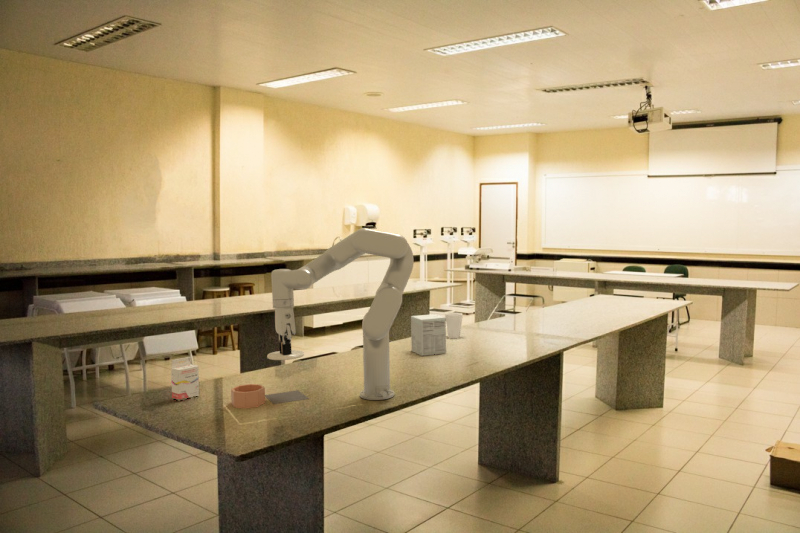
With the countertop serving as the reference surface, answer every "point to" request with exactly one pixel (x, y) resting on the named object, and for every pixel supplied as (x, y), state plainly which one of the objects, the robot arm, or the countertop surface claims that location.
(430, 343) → the supplement box
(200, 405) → the countertop surface
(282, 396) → the mat
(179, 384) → the ink cartridge box
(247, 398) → the bowl
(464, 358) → the countertop surface
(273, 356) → the lid
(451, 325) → the foam cup
